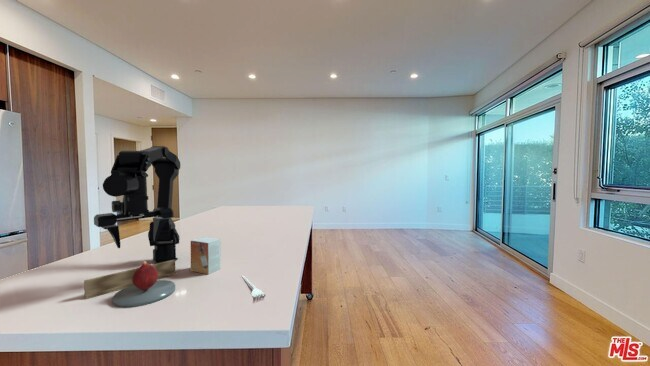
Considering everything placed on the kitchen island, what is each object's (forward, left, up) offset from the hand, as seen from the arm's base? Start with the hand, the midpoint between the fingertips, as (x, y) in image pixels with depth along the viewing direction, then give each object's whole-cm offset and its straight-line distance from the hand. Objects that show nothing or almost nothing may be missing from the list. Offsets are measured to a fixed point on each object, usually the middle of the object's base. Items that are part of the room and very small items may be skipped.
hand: (137, 244), depth 80 cm
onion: (+1, +11, -11) cm, 15 cm away
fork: (-20, +29, -12) cm, 37 cm away
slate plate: (+1, +11, -12) cm, 16 cm away
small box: (-18, +6, -12) cm, 22 cm away
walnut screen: (+1, +1, -12) cm, 12 cm away
